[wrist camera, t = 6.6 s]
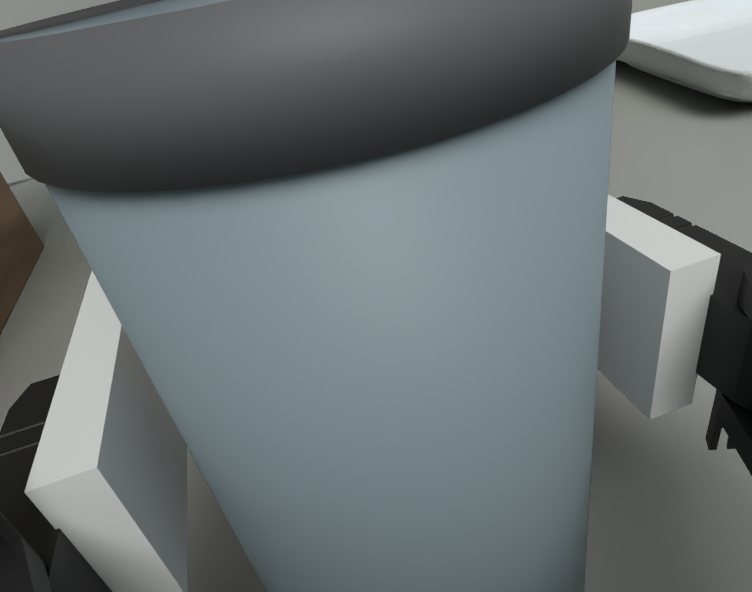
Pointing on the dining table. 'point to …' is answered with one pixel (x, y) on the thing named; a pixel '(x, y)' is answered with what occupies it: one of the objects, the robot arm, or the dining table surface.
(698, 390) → the dining table surface
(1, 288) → the shelf
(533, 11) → the canister
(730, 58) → the salad plate
